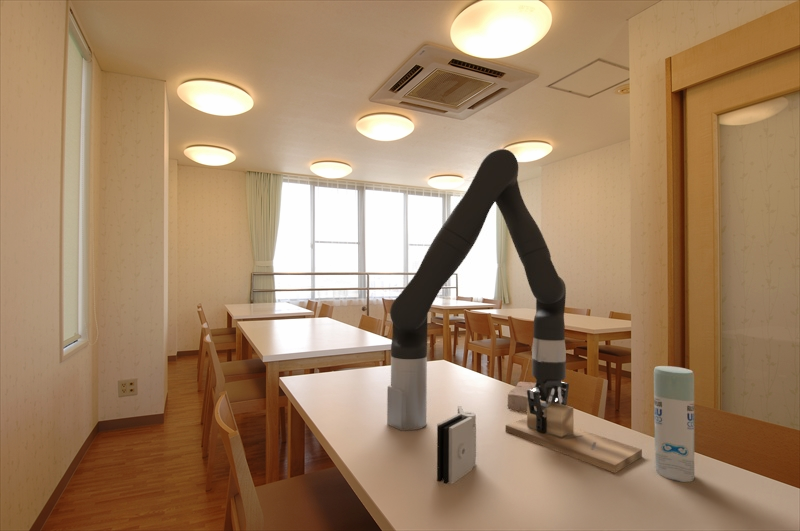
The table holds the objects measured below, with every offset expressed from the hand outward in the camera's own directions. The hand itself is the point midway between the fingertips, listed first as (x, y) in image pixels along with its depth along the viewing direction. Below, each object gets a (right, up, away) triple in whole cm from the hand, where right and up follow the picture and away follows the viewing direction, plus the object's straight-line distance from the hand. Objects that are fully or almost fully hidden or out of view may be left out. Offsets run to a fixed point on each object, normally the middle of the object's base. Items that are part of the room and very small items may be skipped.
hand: (548, 429), depth 96 cm
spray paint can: (+18, -1, -18) cm, 25 cm away
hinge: (-24, -1, -16) cm, 29 cm away
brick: (+3, -3, +26) cm, 26 cm away
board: (+3, -2, -4) cm, 5 cm away
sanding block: (0, 0, 0) cm, 0 cm away
